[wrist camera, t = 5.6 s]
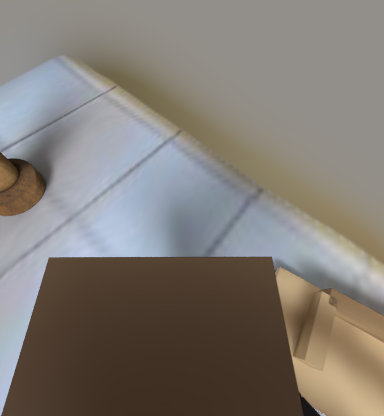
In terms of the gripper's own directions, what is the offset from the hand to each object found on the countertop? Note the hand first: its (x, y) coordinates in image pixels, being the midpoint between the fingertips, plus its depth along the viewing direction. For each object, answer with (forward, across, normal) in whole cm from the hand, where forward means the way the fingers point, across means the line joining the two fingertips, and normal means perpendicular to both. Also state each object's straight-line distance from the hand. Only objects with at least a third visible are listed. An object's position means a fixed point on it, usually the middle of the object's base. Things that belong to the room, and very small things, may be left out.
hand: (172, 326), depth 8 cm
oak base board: (+8, -17, +12) cm, 22 cm away
